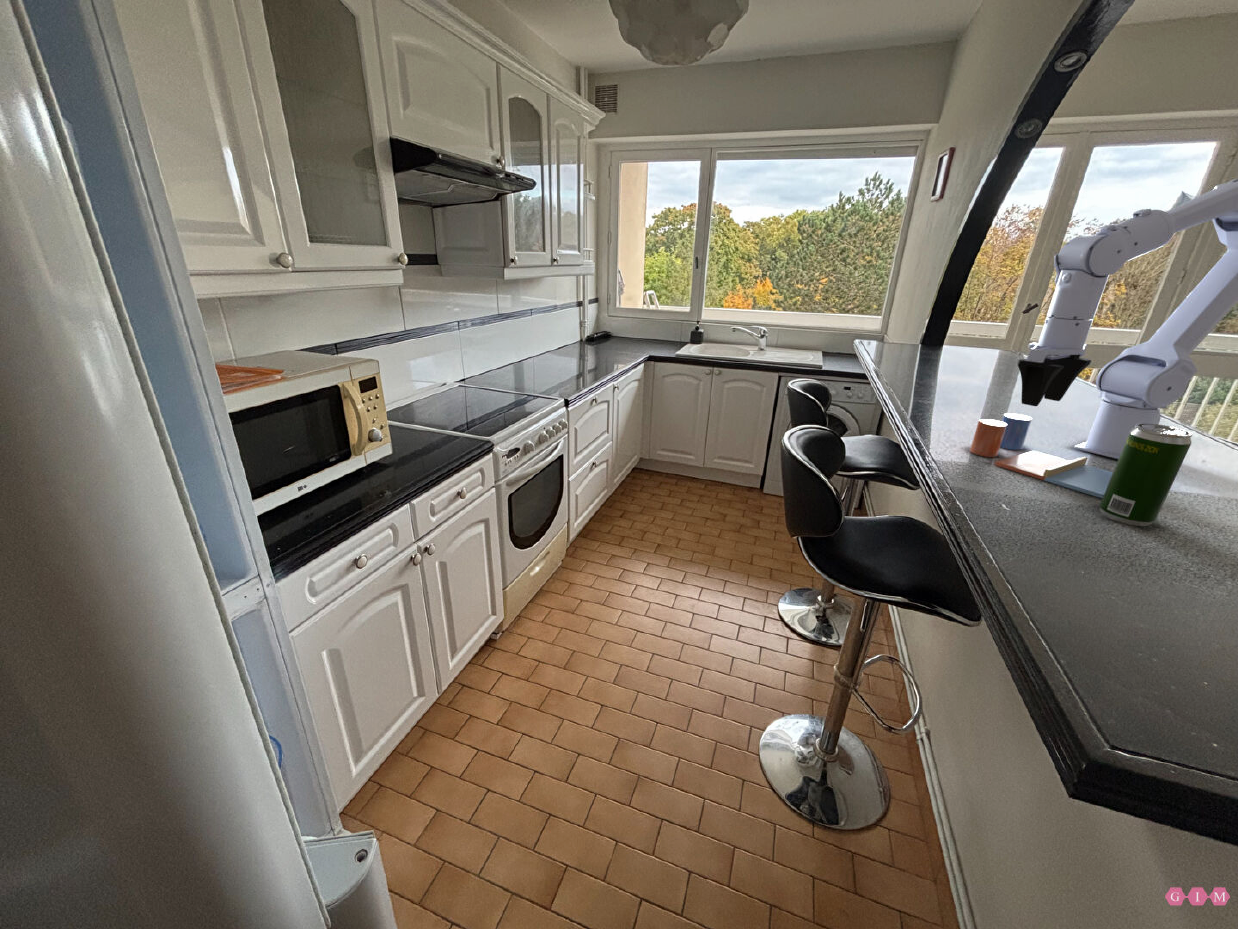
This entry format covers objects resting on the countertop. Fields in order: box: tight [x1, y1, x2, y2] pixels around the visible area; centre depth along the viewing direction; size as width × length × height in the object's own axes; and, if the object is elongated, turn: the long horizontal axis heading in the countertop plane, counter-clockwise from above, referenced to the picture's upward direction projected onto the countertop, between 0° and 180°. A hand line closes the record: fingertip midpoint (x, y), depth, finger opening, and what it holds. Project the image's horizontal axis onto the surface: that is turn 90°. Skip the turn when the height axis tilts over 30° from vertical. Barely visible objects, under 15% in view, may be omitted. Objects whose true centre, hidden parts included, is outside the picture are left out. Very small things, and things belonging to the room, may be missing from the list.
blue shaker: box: [1000, 413, 1033, 451], centre depth 90 cm, size 4×4×6 cm
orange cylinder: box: [969, 418, 1007, 458], centre depth 86 cm, size 4×4×6 cm
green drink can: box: [1099, 423, 1193, 527], centre depth 63 cm, size 5×5×12 cm
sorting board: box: [993, 450, 1114, 499], centre depth 79 cm, size 12×14×2 cm
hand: (1040, 402), depth 84 cm, fingers open, 7 cm apart
